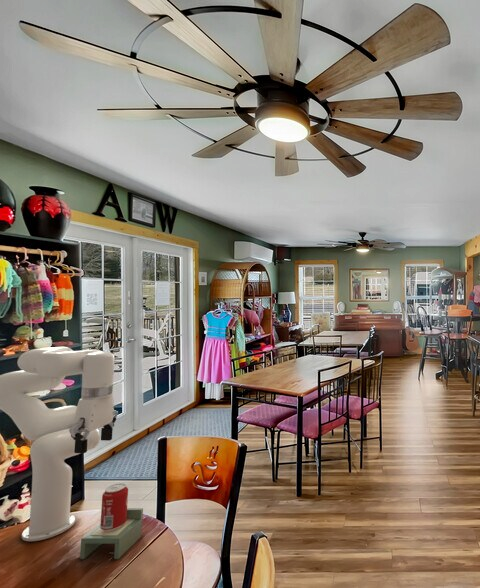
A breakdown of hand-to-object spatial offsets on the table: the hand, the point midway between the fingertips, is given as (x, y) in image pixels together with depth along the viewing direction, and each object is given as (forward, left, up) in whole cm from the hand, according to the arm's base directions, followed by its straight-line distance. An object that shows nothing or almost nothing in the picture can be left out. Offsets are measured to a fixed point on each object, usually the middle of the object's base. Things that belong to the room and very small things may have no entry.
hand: (94, 446), depth 108 cm
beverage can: (+6, +6, -24) cm, 26 cm away
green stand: (+6, +6, -30) cm, 31 cm away
